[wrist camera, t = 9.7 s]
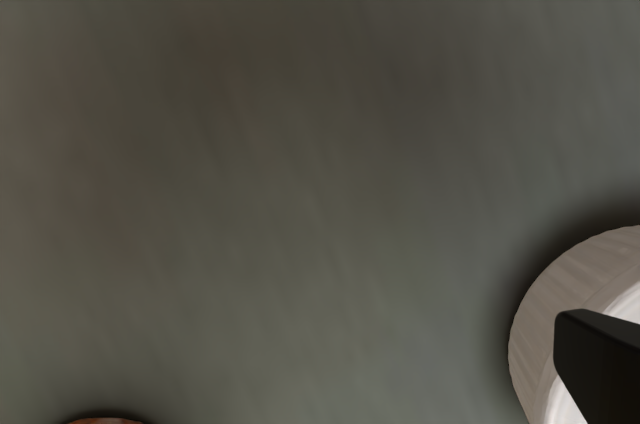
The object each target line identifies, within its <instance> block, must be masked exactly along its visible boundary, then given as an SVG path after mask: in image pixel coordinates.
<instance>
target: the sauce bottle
mask: <svg viewBox="0 0 640 424" xmlns="http://www.w3.org/2000/svg"><path fill="white" fill-rule="evenodd" d="M68 424H143V423H142V422H140V421H132V420H128V419H122V418H86V419H79V420H76V421H74V422H71V423H68Z"/></svg>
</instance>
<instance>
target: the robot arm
mask: <svg viewBox="0 0 640 424" xmlns="http://www.w3.org/2000/svg"><path fill="white" fill-rule="evenodd" d="M553 363H554V367H555V369H556V372H557V374H558V375H559V377H560V379H561V380H562V382H563V384H564V385H565V387H566V389H567V390H568V392H569V394H570V395H571V397H572V399H573V400H574V402H575V404H576V406H577V407H578V409H579V411H580V412H581V414H582V416H583V417H584V419H585V421H586V422H587V424H640V324H638V323H634V322H630V321H627V320H623V319H620V318H616V317H613V316H609V315H605V314H602V313H598V312H595V311H591V310H588V309H583V308H579V309H572V310H566V311H561V312H559V313H558V314H557V315H556V318H555V322H554V341H553Z"/></svg>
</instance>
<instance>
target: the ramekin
mask: <svg viewBox="0 0 640 424" xmlns="http://www.w3.org/2000/svg"><path fill="white" fill-rule="evenodd" d="M579 308H583V309H588V310H591V311H595V312H598V313H602V314H605V315H609V316H613V317H616V318H620V319H623V320H627V321H630V322H634V323H638V324H640V225H637V226H632V227H621V228H618V229H615V230H609V231H606V232H603V233H601V234H599V235H596V236H592V237H590V238H589V239H587V240H585V241H584V242H581V243H579V244H577V245H575V246H574V247H572V248H571V249H569V250H568V251H566V252H564V253H563V254H562V255H561V256H559V257H558V258H557V259H556V260H554V261H553V262H552V263H551V264H550V265H549V266H548V267H547V268H546V269H545V270H544V271H543V272H542V273H541V274H540V275H539V276H538V278H537V279H536V280H535V281H534V283H533V284H532V285H531V287H530V288H529V290H528V291H527V293H526V295H525V296H524V298H523V300H522V302H521V304H520V306H519V309H518V311H517V313H516V315H515V317H514V321H513V325H512V328H511V331H510V340H509V344H508V350H509V352H508V362H509V372H510V375H511V377H512V384H513V387H514V389H515V391H516V394H517V396H518V399H519V401H520V403H521V406H522V408H523V410H524V412H525V414H526V417H527V419H528V421H529V423H530V424H587V422H586V421H585V419H584V417H583V416H582V414H581V412H580V411H579V409H578V407H577V406H576V404H575V402H574V400H573V399H572V397H571V395H570V394H569V392H568V390H567V389H566V387H565V385H564V384H563V382H562V380H561V379H560V377H559V375H558V374H557V372H556V369H555V367H554V363H553V341H554V322H555V318H556V315H557V314H558V313H559V312H561V311H566V310H572V309H579Z"/></svg>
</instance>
